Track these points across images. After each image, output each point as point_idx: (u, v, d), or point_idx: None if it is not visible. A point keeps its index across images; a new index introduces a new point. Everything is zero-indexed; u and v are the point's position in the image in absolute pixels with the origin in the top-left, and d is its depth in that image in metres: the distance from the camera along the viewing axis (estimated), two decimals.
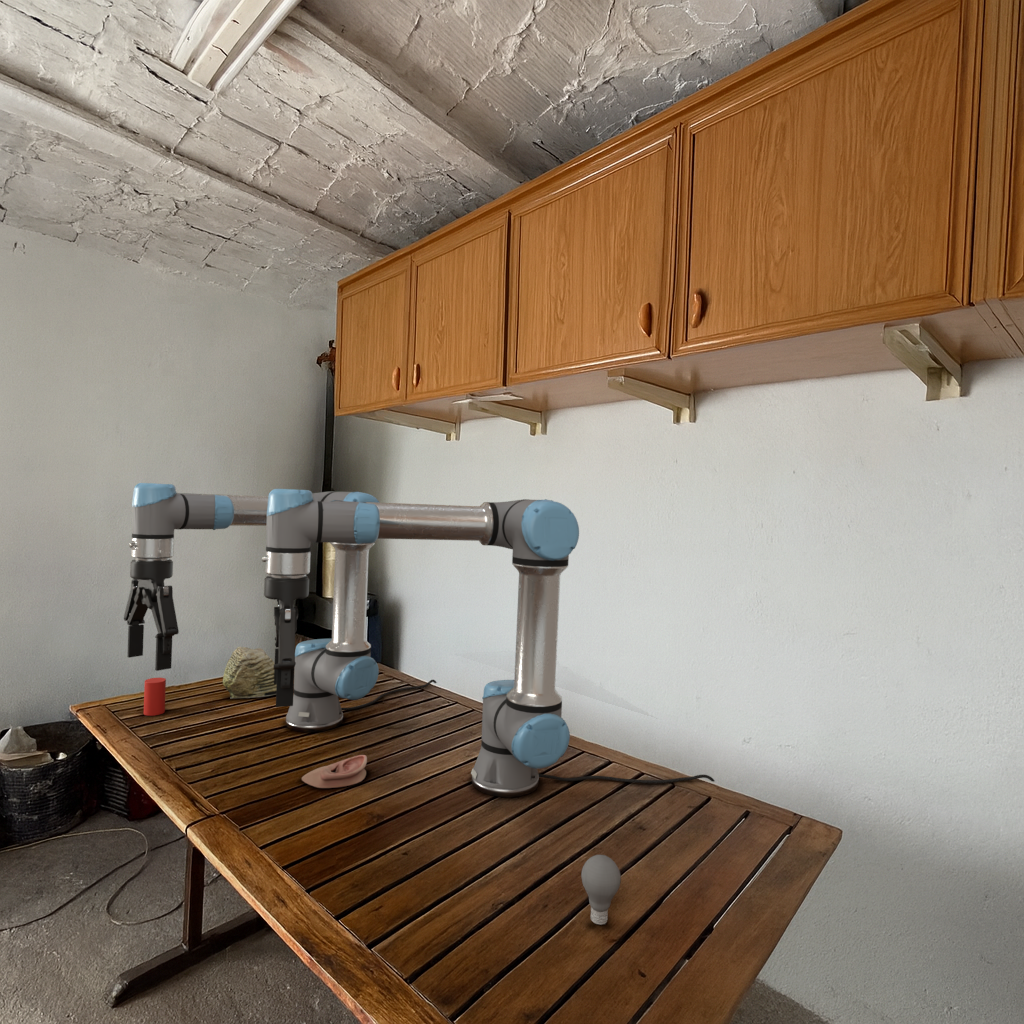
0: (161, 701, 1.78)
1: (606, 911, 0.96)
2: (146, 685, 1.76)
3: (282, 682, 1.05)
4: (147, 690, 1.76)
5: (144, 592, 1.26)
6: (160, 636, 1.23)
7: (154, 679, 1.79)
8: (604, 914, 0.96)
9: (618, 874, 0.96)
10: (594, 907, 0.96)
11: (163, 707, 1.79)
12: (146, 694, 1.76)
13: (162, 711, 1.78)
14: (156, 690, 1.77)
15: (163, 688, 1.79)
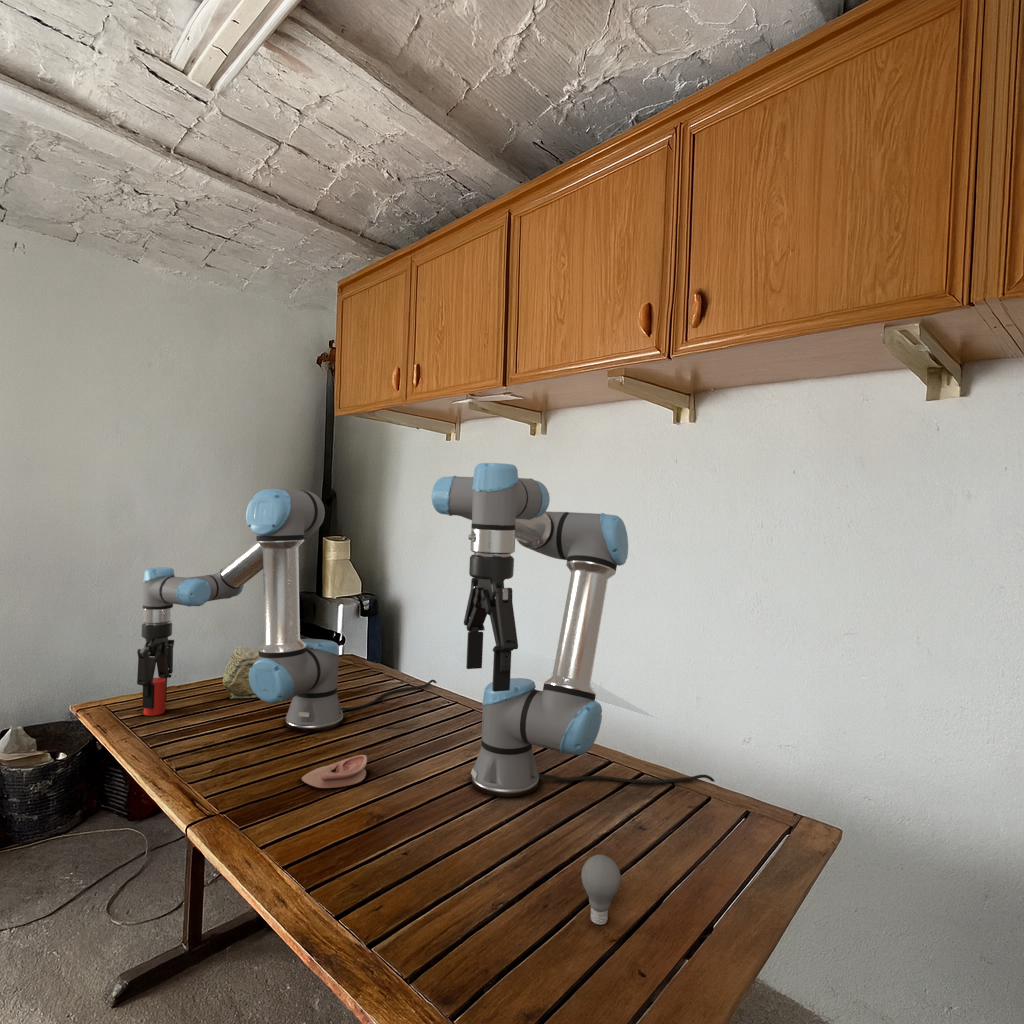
0: (161, 701, 1.78)
1: (606, 911, 0.96)
2: None
3: (502, 665, 1.00)
4: None
5: None
6: (141, 684, 1.75)
7: (154, 679, 1.79)
8: (604, 914, 0.96)
9: (618, 874, 0.96)
10: (594, 907, 0.96)
11: (163, 707, 1.79)
12: None
13: (162, 711, 1.78)
14: (156, 690, 1.77)
15: (163, 688, 1.78)
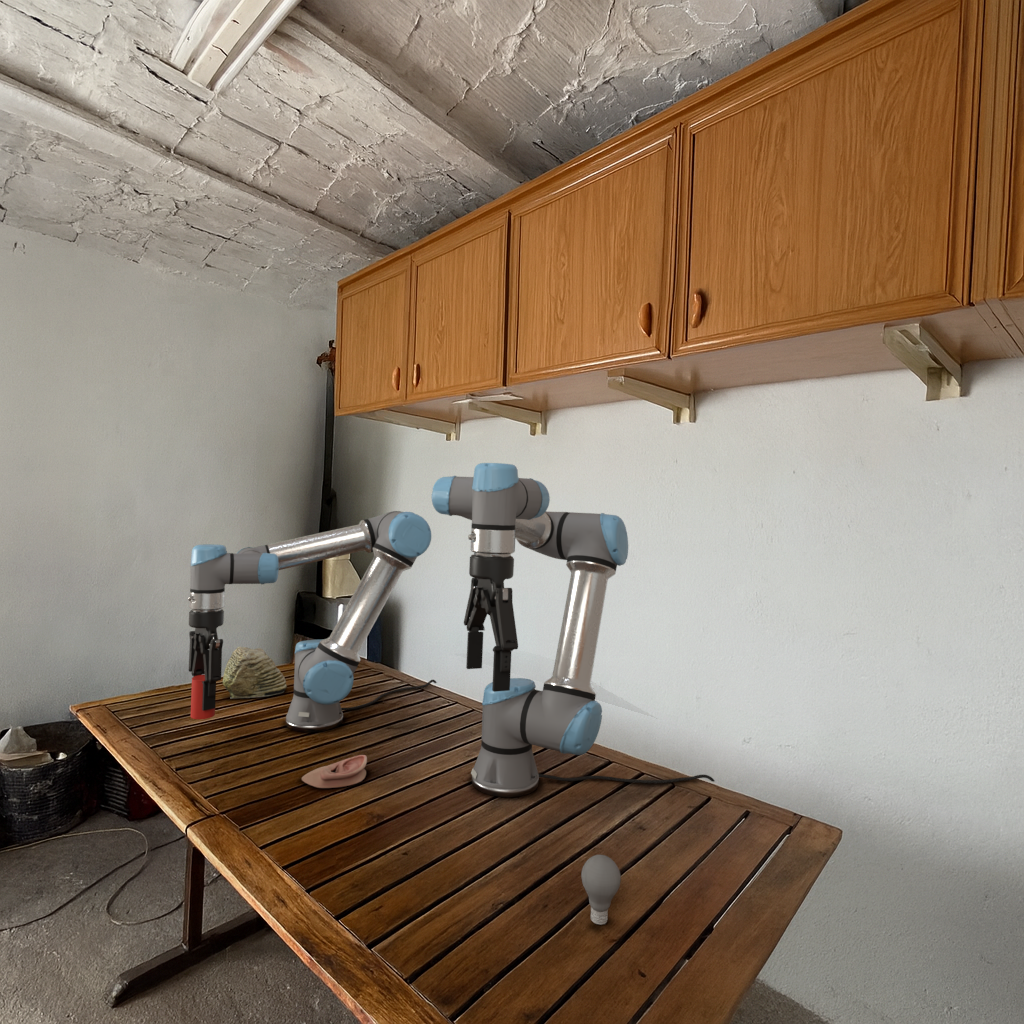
0: None
1: (606, 911, 0.96)
2: None
3: (502, 665, 1.00)
4: None
5: (200, 638, 1.49)
6: (206, 683, 1.48)
7: (200, 677, 1.51)
8: (604, 914, 0.96)
9: (618, 874, 0.96)
10: (594, 907, 0.96)
11: None
12: None
13: None
14: None
15: None
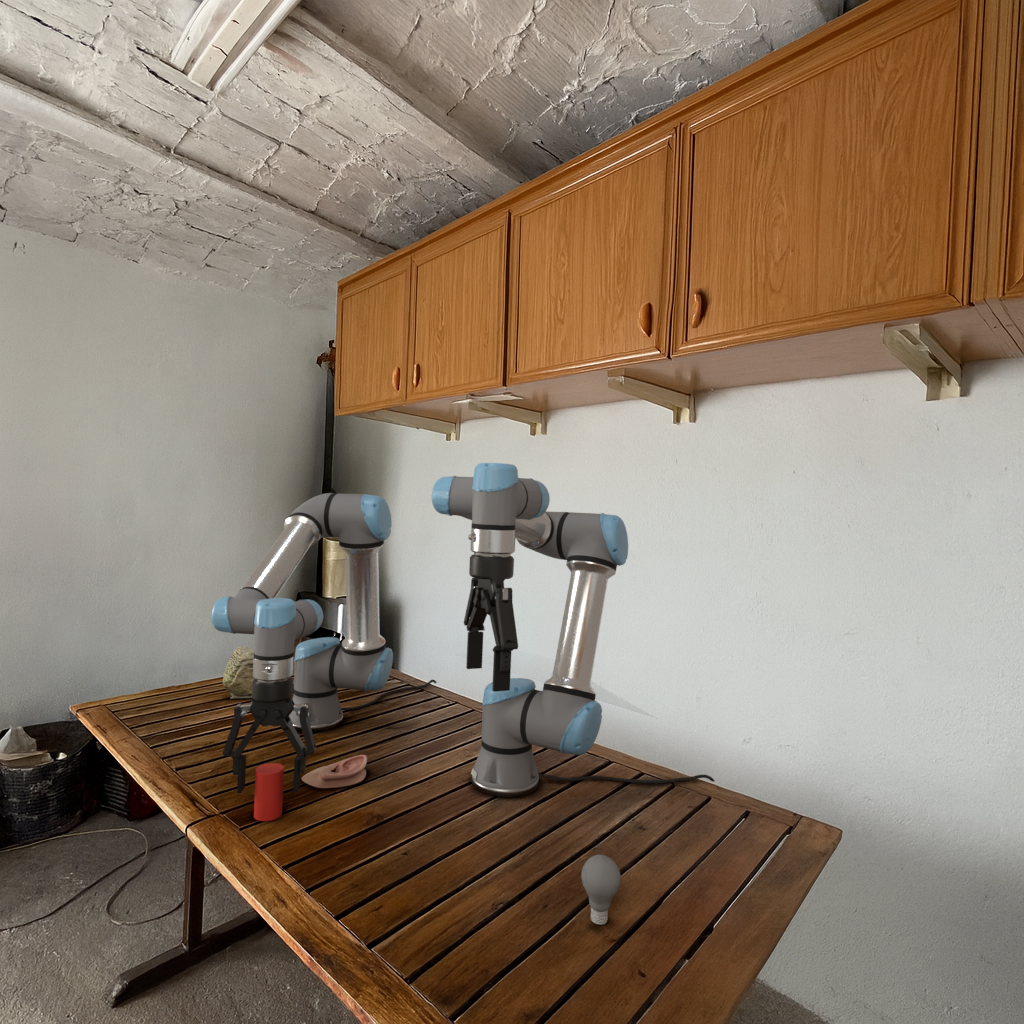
0: None
1: (606, 911, 0.96)
2: (280, 774, 1.25)
3: (502, 665, 1.00)
4: (281, 780, 1.25)
5: (278, 713, 1.23)
6: None
7: (266, 769, 1.25)
8: (604, 914, 0.96)
9: (618, 874, 0.96)
10: (594, 907, 0.96)
11: None
12: (281, 787, 1.25)
13: None
14: None
15: None
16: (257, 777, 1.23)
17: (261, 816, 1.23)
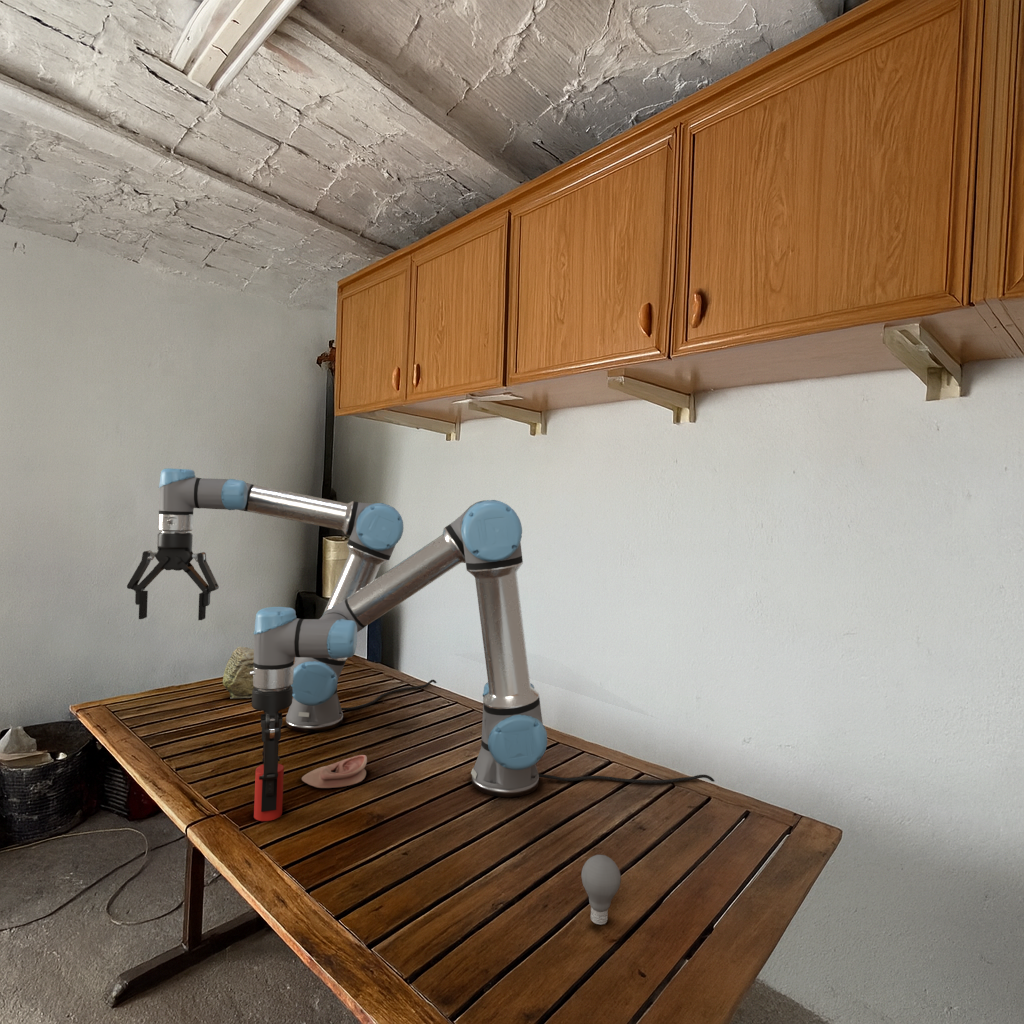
0: None
1: (606, 911, 0.96)
2: (280, 774, 1.25)
3: (266, 791, 1.21)
4: (281, 780, 1.25)
5: (178, 559, 1.53)
6: (207, 592, 1.54)
7: None
8: (604, 914, 0.96)
9: (618, 874, 0.96)
10: (594, 907, 0.96)
11: None
12: (281, 787, 1.25)
13: None
14: None
15: None
16: (257, 777, 1.23)
17: (261, 816, 1.23)
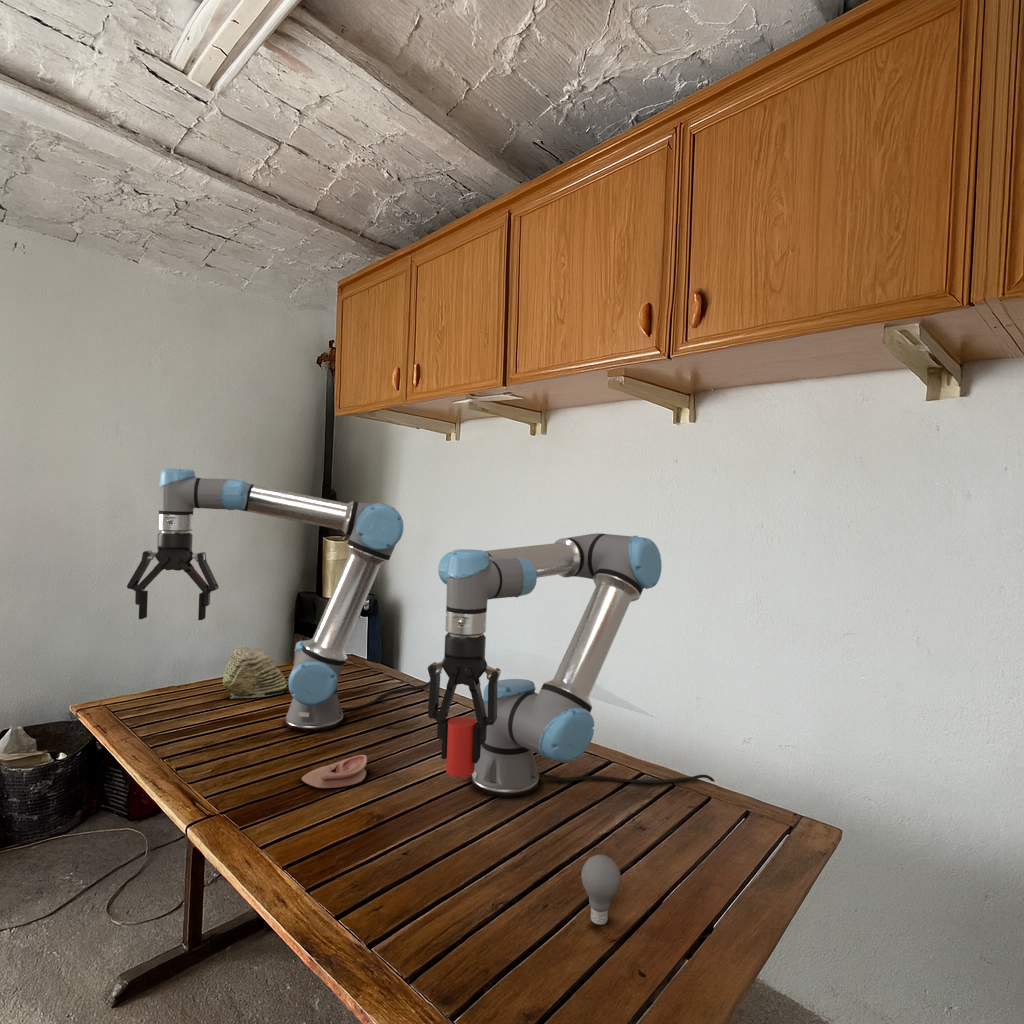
0: None
1: (606, 911, 0.96)
2: None
3: (484, 738, 1.16)
4: None
5: (178, 559, 1.53)
6: (207, 592, 1.54)
7: (463, 722, 1.16)
8: (604, 914, 0.96)
9: (618, 874, 0.96)
10: (594, 907, 0.96)
11: None
12: None
13: None
14: None
15: None
16: (465, 731, 1.15)
17: (470, 770, 1.16)
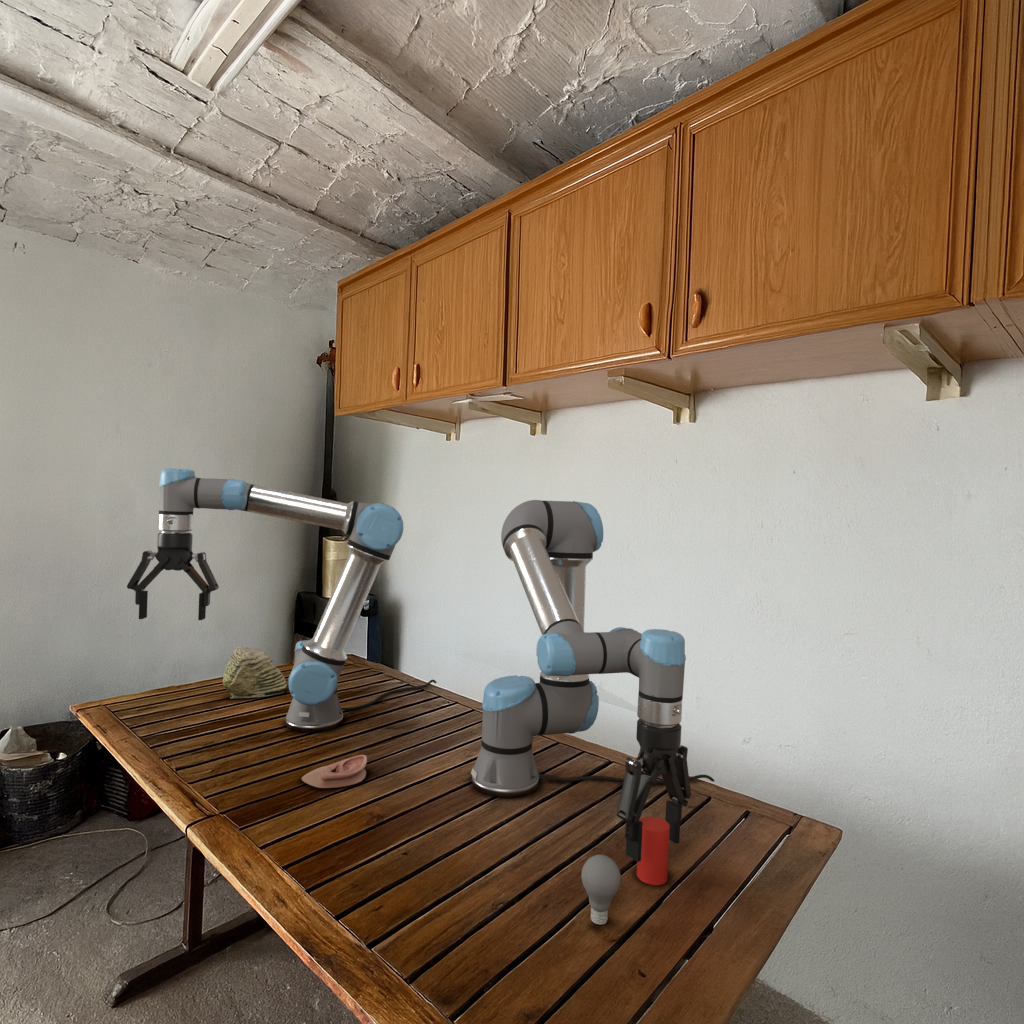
0: None
1: (606, 911, 0.96)
2: None
3: (680, 814, 1.14)
4: None
5: (178, 559, 1.53)
6: (207, 592, 1.54)
7: (659, 824, 1.10)
8: (604, 914, 0.96)
9: (618, 874, 0.96)
10: (594, 907, 0.96)
11: (640, 870, 1.09)
12: None
13: (638, 874, 1.10)
14: None
15: None
16: (669, 832, 1.09)
17: None
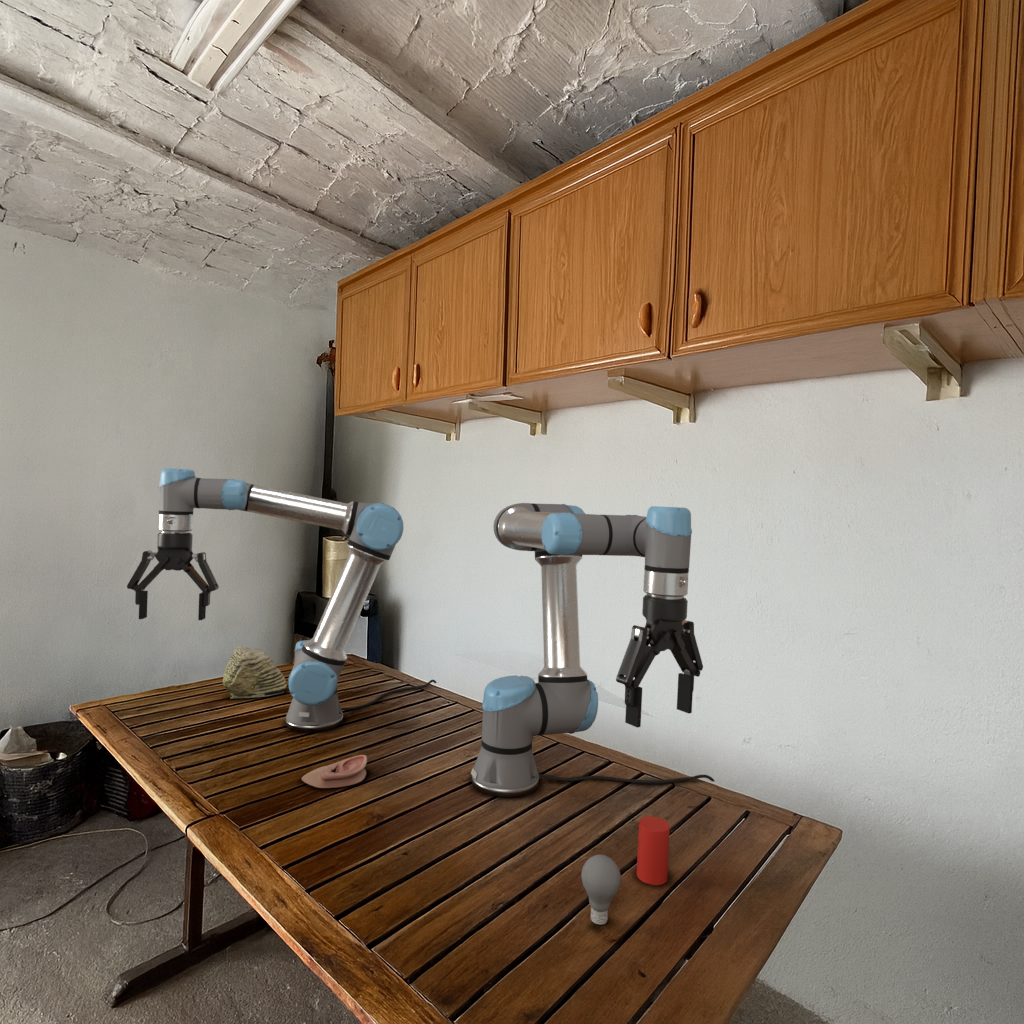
0: (638, 856, 1.10)
1: (606, 911, 0.96)
2: None
3: (692, 686, 1.14)
4: None
5: (178, 559, 1.53)
6: (207, 592, 1.54)
7: (659, 824, 1.10)
8: (604, 914, 0.96)
9: (618, 874, 0.96)
10: (594, 907, 0.96)
11: (640, 870, 1.09)
12: None
13: (638, 874, 1.10)
14: None
15: (640, 838, 1.09)
16: (669, 832, 1.09)
17: None
